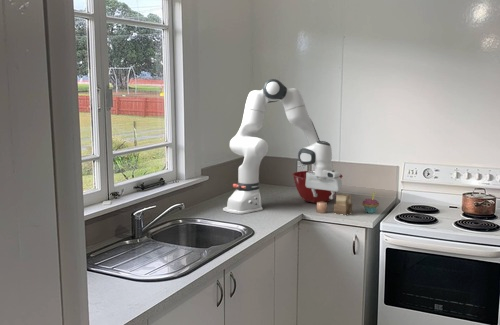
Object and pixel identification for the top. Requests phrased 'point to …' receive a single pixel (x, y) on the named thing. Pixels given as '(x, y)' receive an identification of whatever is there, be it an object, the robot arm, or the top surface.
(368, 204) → the cupcake
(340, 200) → the tower top
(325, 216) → the top surface
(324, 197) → the mixing bowl
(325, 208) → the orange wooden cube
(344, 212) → the tower base
